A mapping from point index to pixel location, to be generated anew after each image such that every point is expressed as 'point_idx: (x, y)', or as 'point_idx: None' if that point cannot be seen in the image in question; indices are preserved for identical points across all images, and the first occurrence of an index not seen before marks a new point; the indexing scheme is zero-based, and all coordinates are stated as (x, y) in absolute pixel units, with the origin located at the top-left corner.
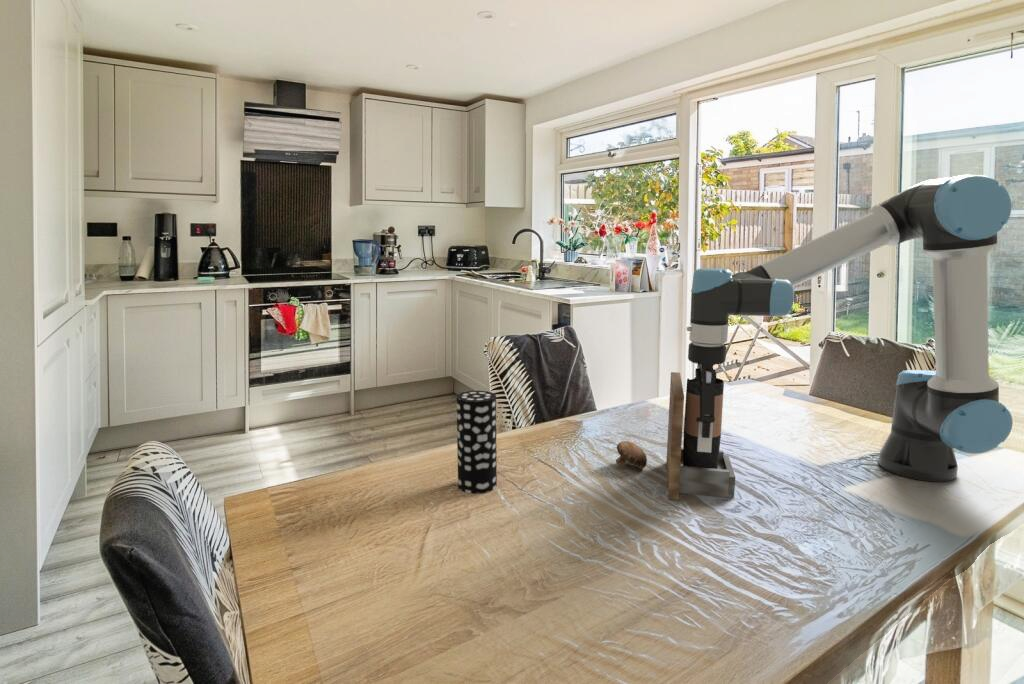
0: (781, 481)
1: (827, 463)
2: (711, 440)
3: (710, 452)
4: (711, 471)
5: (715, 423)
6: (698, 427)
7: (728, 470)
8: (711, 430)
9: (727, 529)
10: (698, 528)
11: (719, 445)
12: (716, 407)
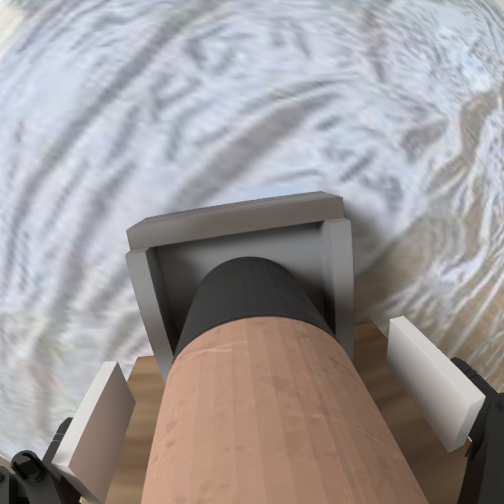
0: (145, 65)
1: (16, 7)
2: (430, 343)
3: (402, 318)
4: (351, 279)
5: (363, 388)
6: (434, 426)
7: (336, 224)
8: (457, 373)
9: (466, 210)
10: (469, 263)
11: (271, 292)
12: (408, 475)
